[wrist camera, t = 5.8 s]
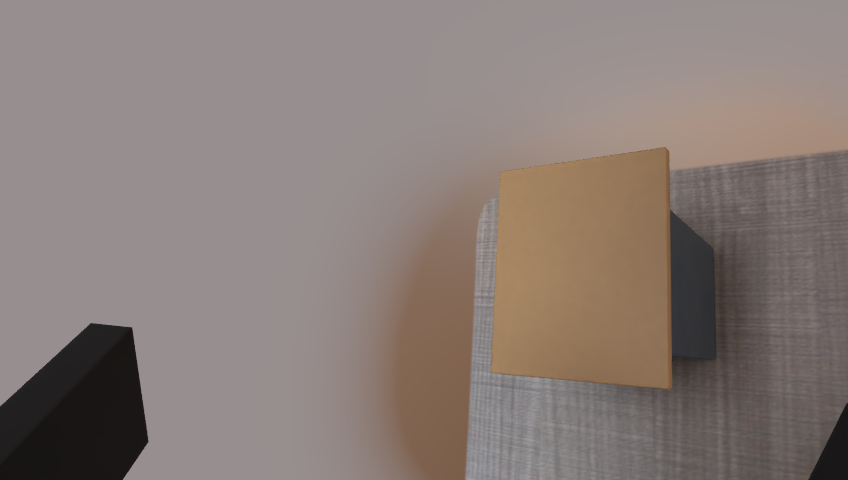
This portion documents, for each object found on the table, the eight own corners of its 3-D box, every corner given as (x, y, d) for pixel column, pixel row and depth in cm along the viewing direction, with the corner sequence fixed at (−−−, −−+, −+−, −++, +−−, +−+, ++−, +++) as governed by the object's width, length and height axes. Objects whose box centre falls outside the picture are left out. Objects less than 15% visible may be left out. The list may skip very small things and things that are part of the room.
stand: (605, 233, 41) (499, 171, 29) (730, 224, 36) (665, 146, 24) (604, 375, 39) (490, 372, 27) (735, 386, 34) (668, 389, 22)
